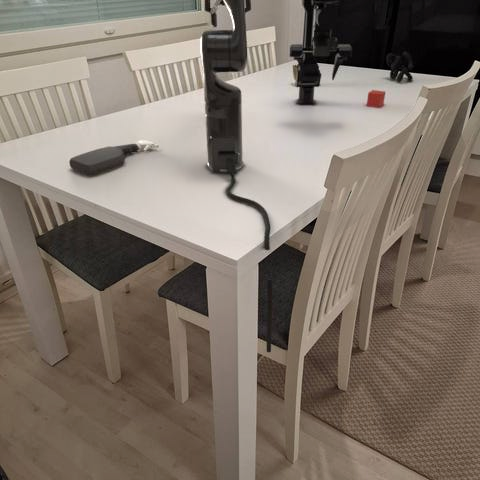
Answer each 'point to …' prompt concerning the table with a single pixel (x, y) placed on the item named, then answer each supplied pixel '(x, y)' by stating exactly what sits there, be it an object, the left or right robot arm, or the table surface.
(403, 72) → the squiggle
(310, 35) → the right robot arm
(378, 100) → the block
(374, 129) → the table surface
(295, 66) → the cup
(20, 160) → the table surface
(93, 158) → the spray bottle
